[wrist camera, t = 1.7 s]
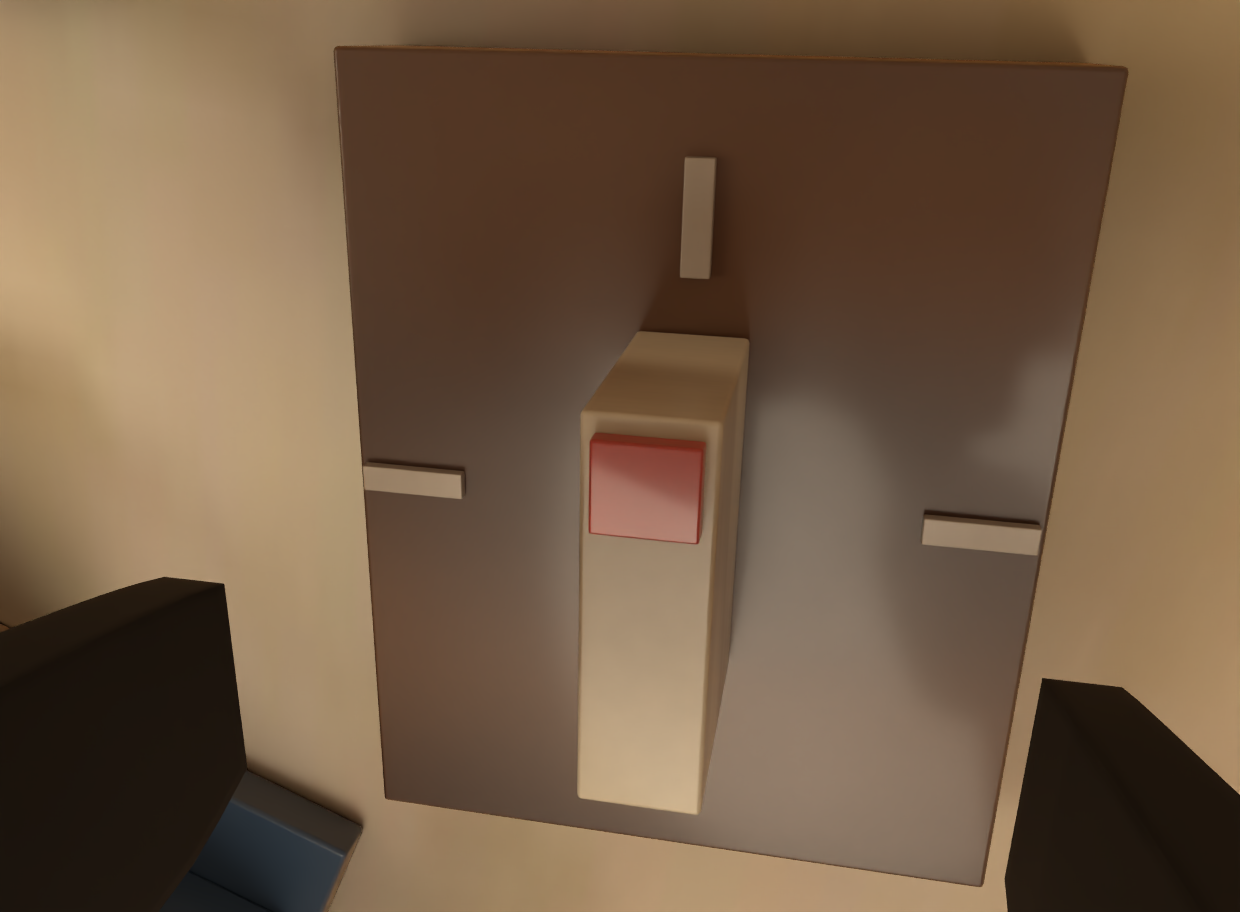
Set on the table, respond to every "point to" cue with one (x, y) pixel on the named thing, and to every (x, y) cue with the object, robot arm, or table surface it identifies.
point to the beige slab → (657, 566)
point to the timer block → (774, 412)
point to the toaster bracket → (268, 855)
